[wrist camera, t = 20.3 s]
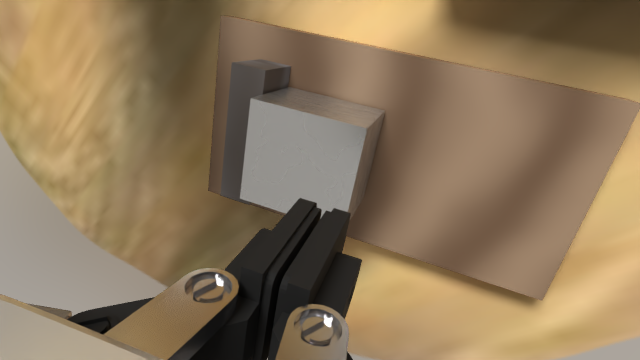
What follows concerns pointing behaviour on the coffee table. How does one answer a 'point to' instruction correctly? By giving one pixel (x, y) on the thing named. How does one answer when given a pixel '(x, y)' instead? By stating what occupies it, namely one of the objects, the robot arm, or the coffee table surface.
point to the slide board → (437, 149)
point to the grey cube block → (308, 150)
